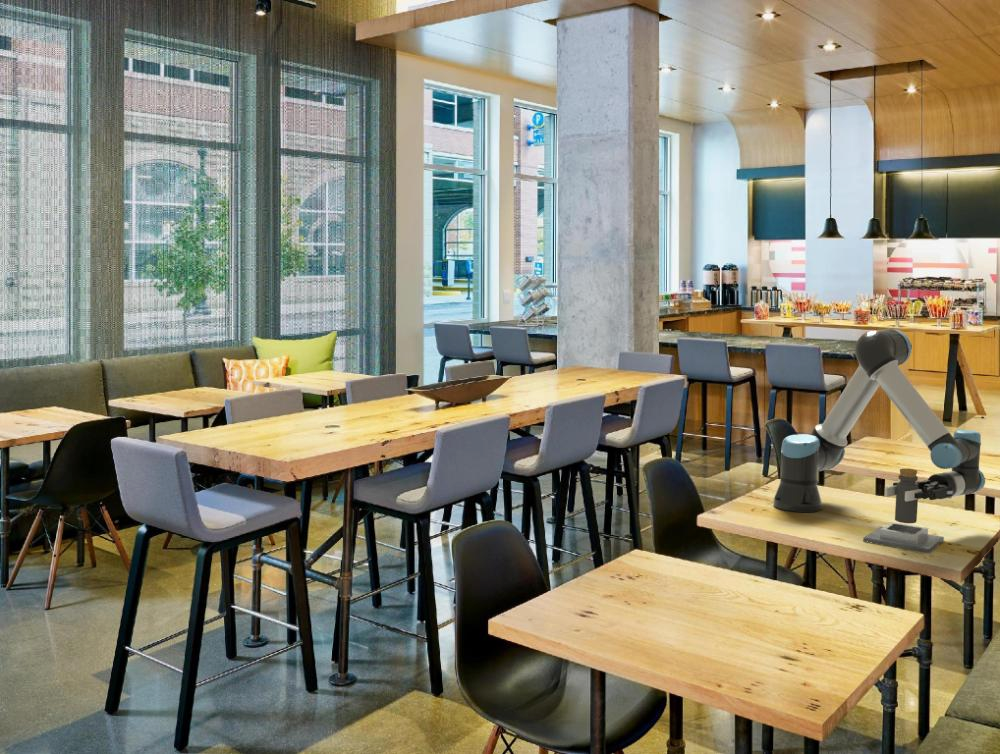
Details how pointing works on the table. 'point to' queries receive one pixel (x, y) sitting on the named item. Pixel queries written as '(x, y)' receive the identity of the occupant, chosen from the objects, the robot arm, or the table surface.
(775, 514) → the table surface
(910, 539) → the collar plate
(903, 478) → the bottle
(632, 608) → the table surface
